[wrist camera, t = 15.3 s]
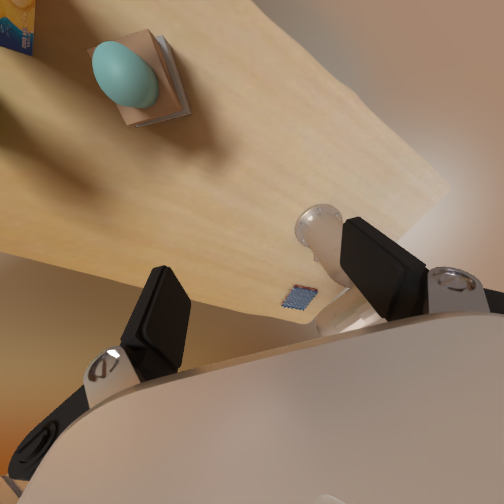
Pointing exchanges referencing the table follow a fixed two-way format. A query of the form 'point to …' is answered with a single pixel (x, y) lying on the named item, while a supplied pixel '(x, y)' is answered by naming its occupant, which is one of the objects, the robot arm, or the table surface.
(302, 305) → the woven mat
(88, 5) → the table surface
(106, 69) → the blue egg-shaped pebble
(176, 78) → the tower base
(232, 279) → the table surface
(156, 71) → the tower top
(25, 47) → the beverage box
